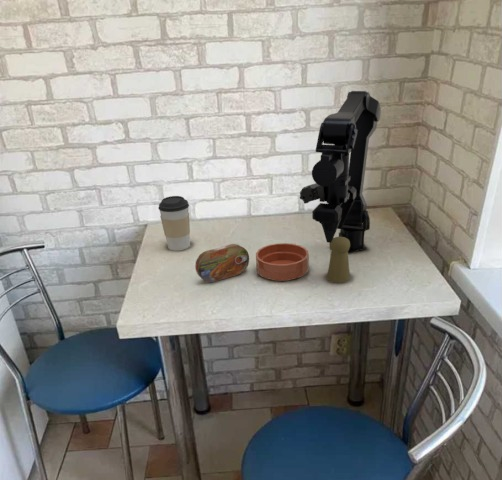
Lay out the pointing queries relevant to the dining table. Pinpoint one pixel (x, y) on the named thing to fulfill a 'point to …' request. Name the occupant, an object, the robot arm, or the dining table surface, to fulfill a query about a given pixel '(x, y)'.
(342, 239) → the cork
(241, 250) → the tin
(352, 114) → the robot arm
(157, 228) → the dining table surface
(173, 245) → the coffee cup
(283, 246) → the bowl
